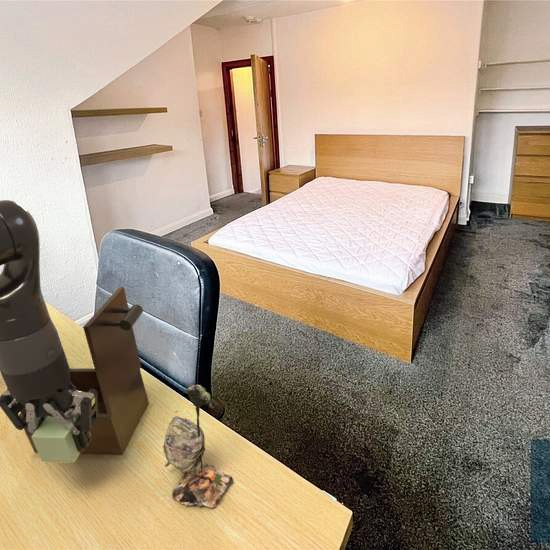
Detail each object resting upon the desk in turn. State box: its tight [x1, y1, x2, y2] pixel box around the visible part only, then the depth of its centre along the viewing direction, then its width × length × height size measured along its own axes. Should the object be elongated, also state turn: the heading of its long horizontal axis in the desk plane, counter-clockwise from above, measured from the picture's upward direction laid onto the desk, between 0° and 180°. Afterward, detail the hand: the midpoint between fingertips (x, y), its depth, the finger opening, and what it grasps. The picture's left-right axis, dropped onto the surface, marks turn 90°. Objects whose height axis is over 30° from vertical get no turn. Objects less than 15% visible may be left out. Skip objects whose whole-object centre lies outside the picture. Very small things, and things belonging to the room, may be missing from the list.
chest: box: [18, 367, 150, 456], centre depth 77 cm, size 17×13×9 cm
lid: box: [82, 286, 144, 416], centre depth 70 cm, size 18×13×5 cm
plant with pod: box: [162, 384, 234, 510], centre depth 62 cm, size 8×11×20 cm
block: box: [31, 411, 91, 464], centre depth 60 cm, size 5×5×5 cm
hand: (66, 446), depth 61 cm, fingers closed on block, 5 cm apart
